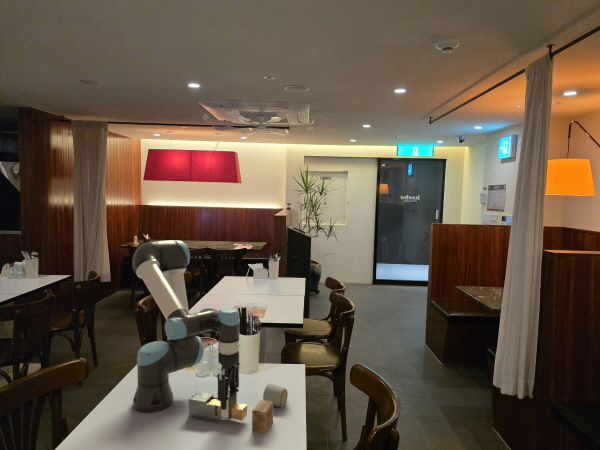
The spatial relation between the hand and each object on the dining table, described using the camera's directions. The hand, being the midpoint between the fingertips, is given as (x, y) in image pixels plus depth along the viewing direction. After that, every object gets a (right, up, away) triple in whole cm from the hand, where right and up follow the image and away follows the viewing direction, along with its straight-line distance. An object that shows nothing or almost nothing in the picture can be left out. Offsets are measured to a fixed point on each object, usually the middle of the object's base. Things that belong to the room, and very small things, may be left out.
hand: (228, 412), depth 154 cm
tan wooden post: (-3, -1, +1) cm, 4 cm away
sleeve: (-9, -2, +3) cm, 9 cm away
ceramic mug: (+17, -2, +14) cm, 22 cm away
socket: (+13, -3, -4) cm, 14 cm away
